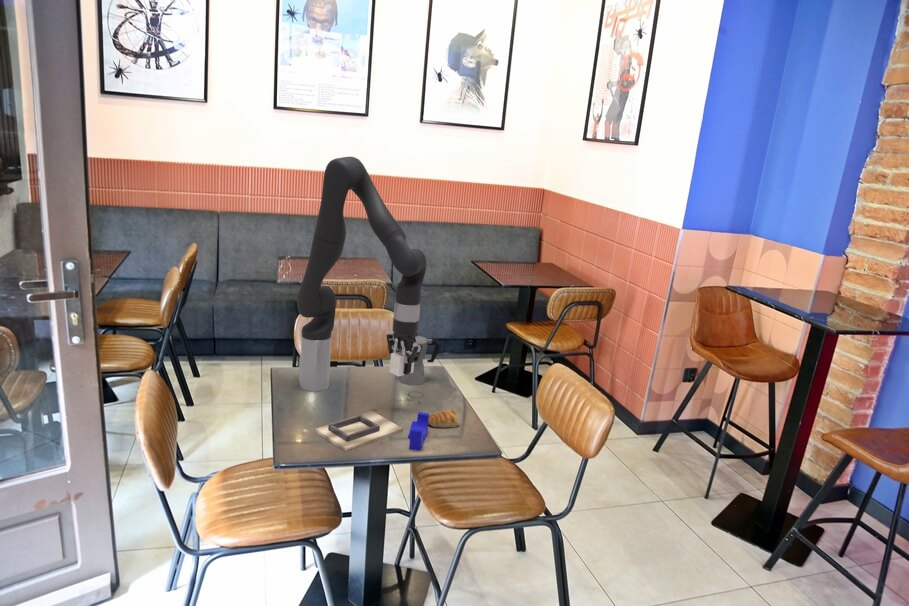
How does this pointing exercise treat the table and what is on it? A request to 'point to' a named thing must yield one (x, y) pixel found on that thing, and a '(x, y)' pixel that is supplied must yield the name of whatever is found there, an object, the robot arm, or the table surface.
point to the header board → (358, 430)
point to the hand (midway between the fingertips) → (401, 371)
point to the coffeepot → (420, 362)
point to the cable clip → (418, 431)
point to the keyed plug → (398, 363)
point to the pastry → (444, 419)
